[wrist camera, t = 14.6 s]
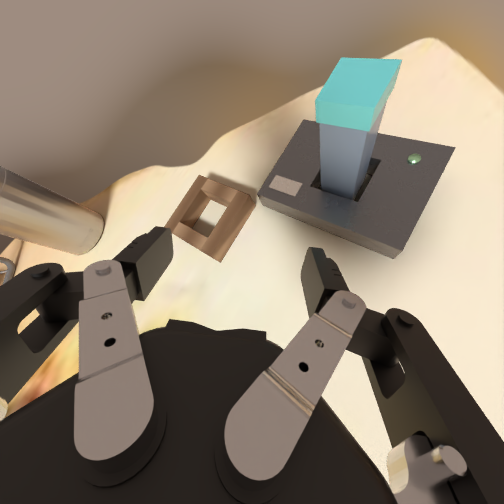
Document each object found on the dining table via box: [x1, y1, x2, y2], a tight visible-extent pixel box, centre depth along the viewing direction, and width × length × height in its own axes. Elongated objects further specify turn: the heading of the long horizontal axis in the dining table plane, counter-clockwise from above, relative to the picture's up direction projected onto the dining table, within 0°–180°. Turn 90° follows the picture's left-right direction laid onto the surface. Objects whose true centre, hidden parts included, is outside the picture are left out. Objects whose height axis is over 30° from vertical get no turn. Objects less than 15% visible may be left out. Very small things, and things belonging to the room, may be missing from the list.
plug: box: [315, 58, 402, 200], centre depth 22 cm, size 4×4×14 cm
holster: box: [165, 175, 256, 263], centre depth 32 cm, size 10×10×3 cm
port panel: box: [257, 120, 456, 259], centre depth 27 cm, size 18×13×3 cm
